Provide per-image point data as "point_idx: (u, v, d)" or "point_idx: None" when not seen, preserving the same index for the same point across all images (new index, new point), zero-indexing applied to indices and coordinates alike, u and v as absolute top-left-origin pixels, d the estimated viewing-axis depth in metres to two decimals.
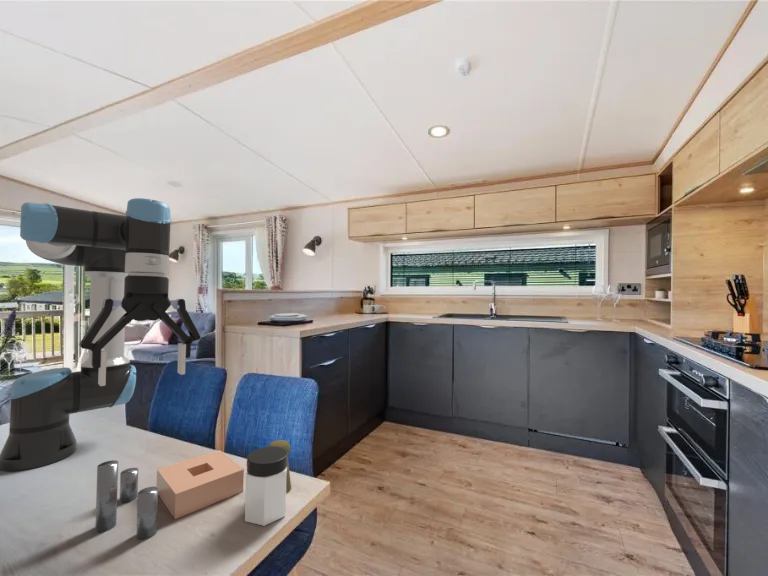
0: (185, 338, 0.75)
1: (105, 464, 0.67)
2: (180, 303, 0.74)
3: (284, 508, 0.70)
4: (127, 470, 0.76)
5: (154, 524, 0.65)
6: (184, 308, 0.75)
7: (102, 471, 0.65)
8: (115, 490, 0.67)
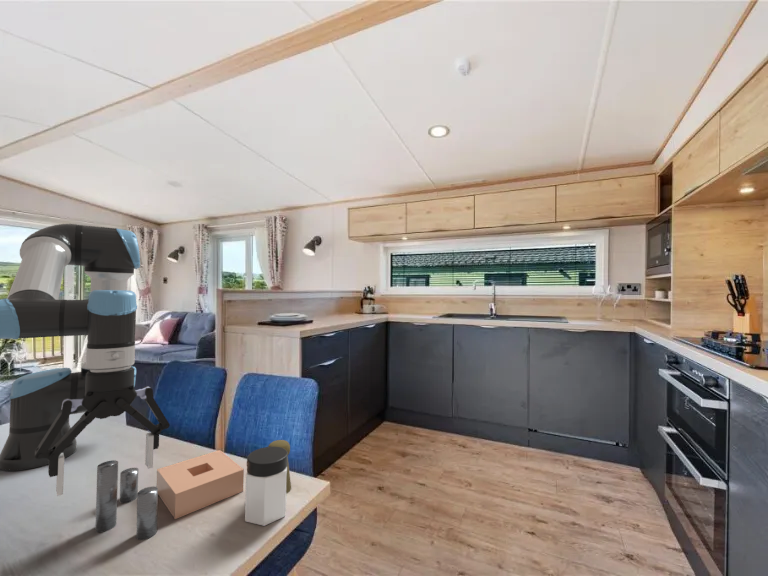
0: (153, 429, 0.71)
1: (105, 464, 0.67)
2: (147, 393, 0.71)
3: (284, 508, 0.70)
4: (127, 470, 0.76)
5: (154, 524, 0.65)
6: (151, 397, 0.71)
7: (102, 471, 0.65)
8: (115, 490, 0.67)
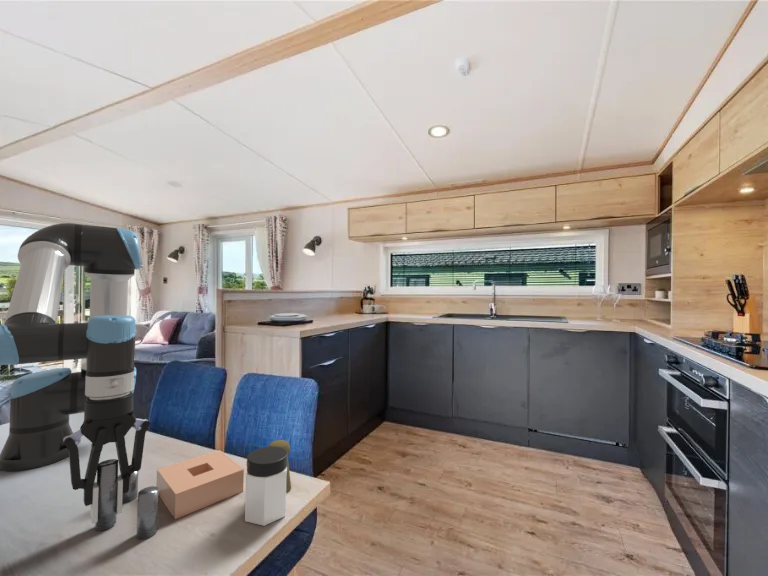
0: (125, 471, 0.68)
1: (105, 463, 0.67)
2: (143, 425, 0.70)
3: (284, 508, 0.70)
4: None
5: (154, 524, 0.65)
6: (144, 432, 0.70)
7: (102, 469, 0.66)
8: (115, 489, 0.67)
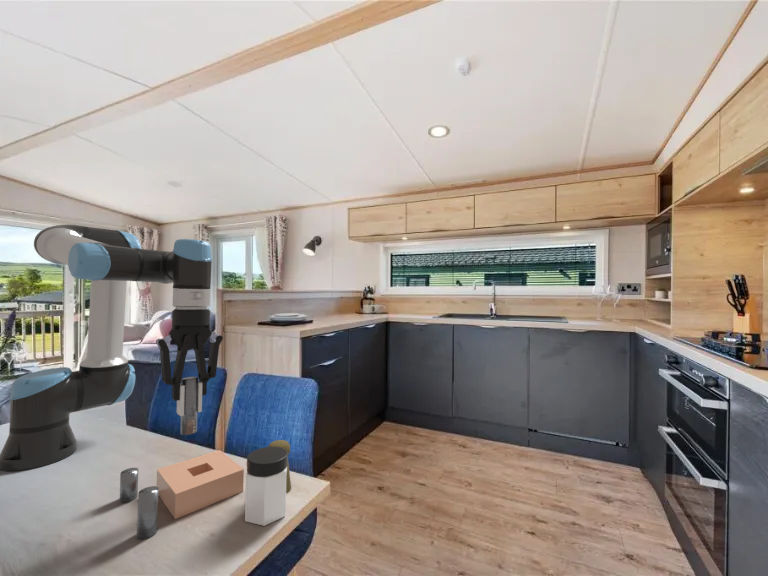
0: (203, 375, 0.78)
1: (188, 378, 0.77)
2: (218, 338, 0.81)
3: (284, 508, 0.70)
4: (127, 470, 0.76)
5: (154, 524, 0.65)
6: (218, 344, 0.81)
7: (186, 382, 0.76)
8: (196, 401, 0.77)
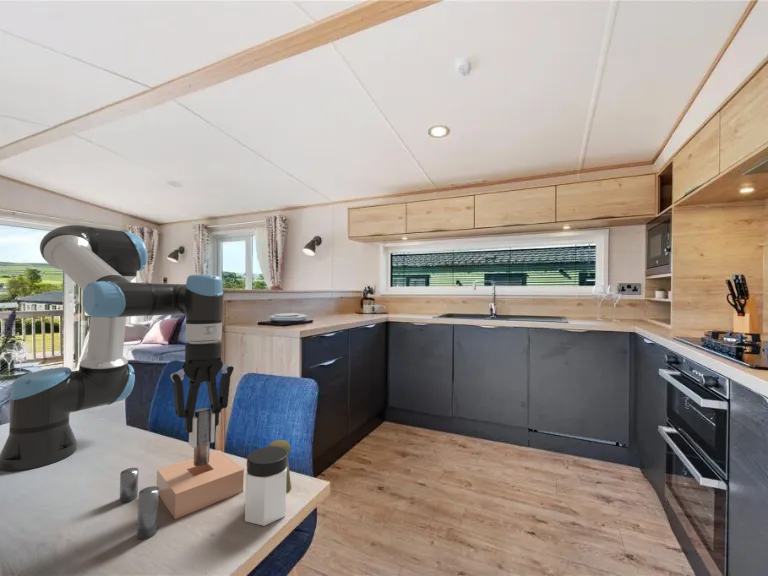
0: (216, 406, 0.80)
1: (200, 410, 0.79)
2: (229, 369, 0.83)
3: (284, 508, 0.70)
4: (127, 470, 0.76)
5: (154, 524, 0.65)
6: (229, 375, 0.83)
7: (200, 414, 0.78)
8: (209, 432, 0.79)
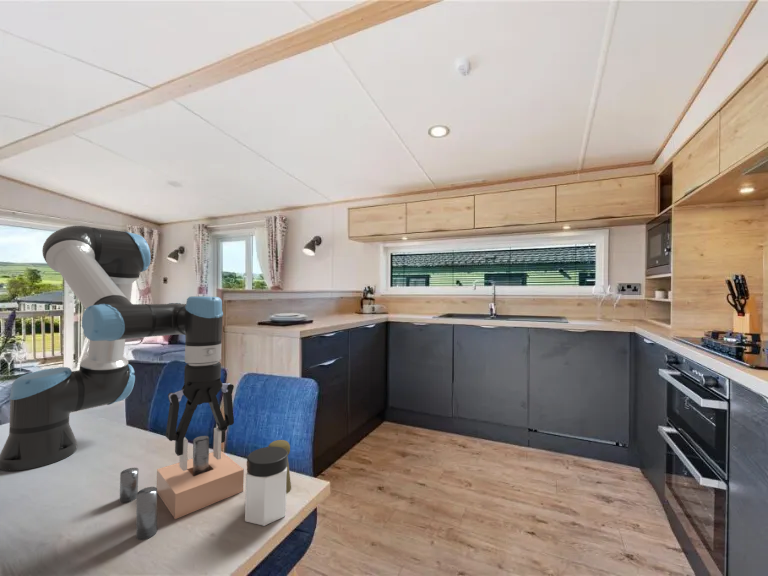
0: (222, 424, 0.82)
1: (199, 439, 0.79)
2: (229, 388, 0.83)
3: (284, 508, 0.70)
4: (127, 470, 0.76)
5: (153, 524, 0.65)
6: (231, 393, 0.83)
7: (198, 444, 0.78)
8: (207, 460, 0.79)
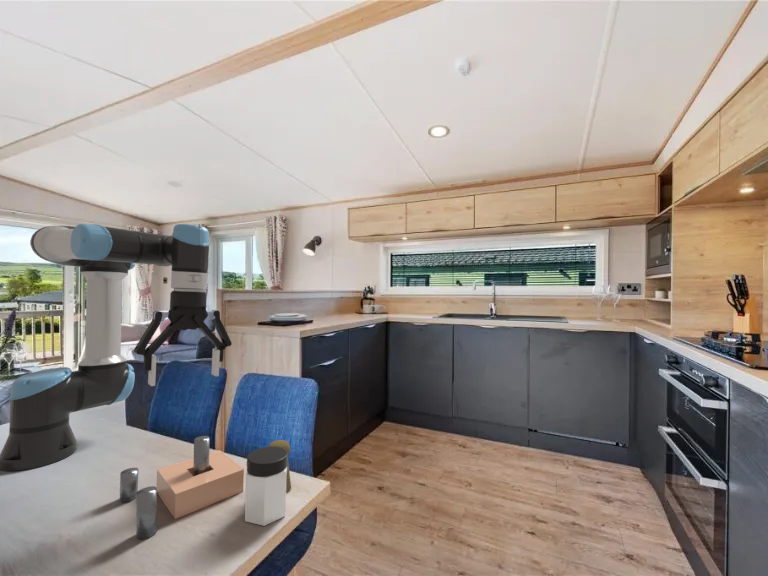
0: (219, 345, 0.86)
1: (200, 439, 0.79)
2: (215, 314, 0.85)
3: (284, 508, 0.70)
4: (127, 470, 0.76)
5: (153, 524, 0.65)
6: (219, 318, 0.86)
7: (199, 443, 0.78)
8: (208, 460, 0.79)
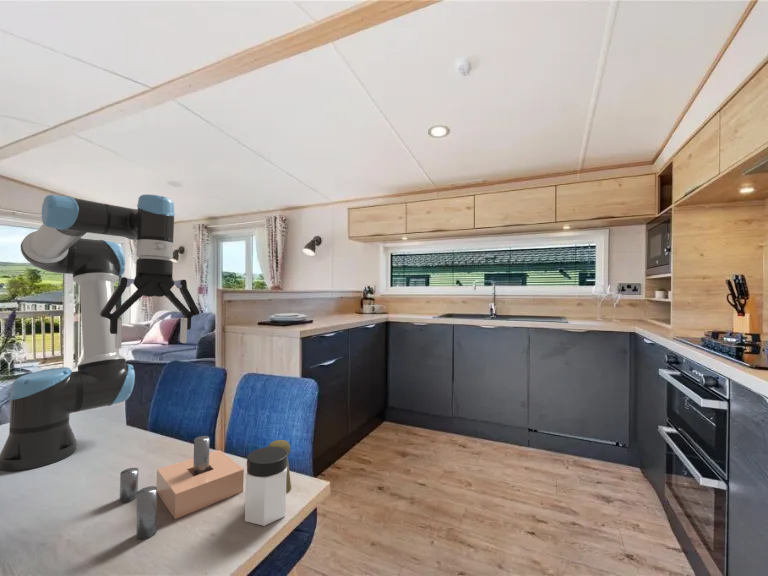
0: (186, 312, 0.89)
1: (200, 439, 0.79)
2: (182, 283, 0.88)
3: (284, 508, 0.70)
4: (127, 470, 0.76)
5: (153, 524, 0.65)
6: (186, 287, 0.89)
7: (199, 443, 0.78)
8: (208, 460, 0.79)
